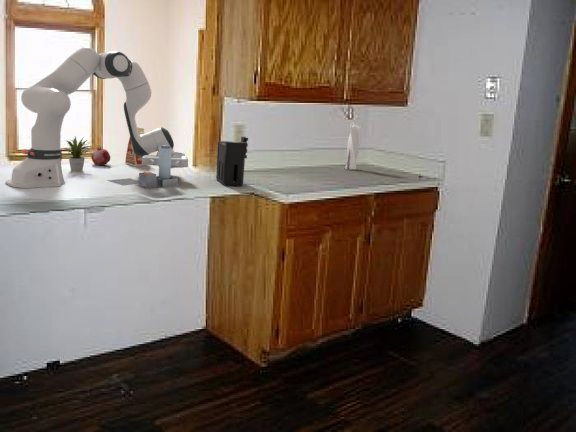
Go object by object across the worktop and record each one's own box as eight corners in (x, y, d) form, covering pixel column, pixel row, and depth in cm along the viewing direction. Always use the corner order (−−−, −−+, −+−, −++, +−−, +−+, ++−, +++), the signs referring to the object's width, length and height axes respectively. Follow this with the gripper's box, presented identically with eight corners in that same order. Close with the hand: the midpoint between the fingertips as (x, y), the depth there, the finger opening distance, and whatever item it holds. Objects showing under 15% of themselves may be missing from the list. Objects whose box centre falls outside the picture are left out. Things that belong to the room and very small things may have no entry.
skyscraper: (341, 167, 360) (346, 121, 354) (353, 168, 363) (358, 122, 356) (346, 170, 352) (352, 122, 346) (359, 170, 355) (364, 123, 348)
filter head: (148, 191, 246) (149, 175, 245) (134, 187, 252) (134, 171, 251) (178, 187, 258) (179, 173, 257) (164, 183, 264) (164, 169, 263)
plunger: (146, 178, 248) (146, 173, 248) (142, 176, 250) (142, 172, 250) (152, 177, 251) (153, 172, 250) (148, 176, 253) (148, 171, 252)
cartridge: (163, 185, 255) (164, 146, 251) (156, 183, 258) (157, 145, 254) (172, 184, 258) (173, 146, 255) (165, 182, 262) (166, 144, 258)
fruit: (109, 163, 304) (109, 144, 302) (111, 166, 296) (111, 147, 294) (90, 163, 301) (90, 143, 299) (91, 166, 292) (92, 146, 290)
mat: (122, 187, 249) (122, 185, 249) (106, 182, 256) (106, 180, 256) (146, 185, 258) (146, 182, 258) (129, 180, 266) (129, 178, 265)
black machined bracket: (224, 186, 270) (227, 138, 265) (213, 178, 288) (216, 133, 283) (249, 187, 274) (252, 139, 269) (236, 178, 293) (239, 134, 288)
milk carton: (135, 166, 304) (136, 127, 300) (124, 163, 309) (125, 124, 305) (149, 164, 311) (150, 126, 307) (138, 162, 317) (139, 124, 312)
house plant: (82, 175, 269) (82, 139, 265) (54, 171, 271) (54, 136, 267) (97, 170, 282) (97, 136, 279) (70, 167, 284) (70, 133, 281)
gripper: (142, 150, 268) (140, 155, 254) (188, 153, 271) (188, 158, 258) (142, 164, 269) (139, 169, 256) (187, 167, 273) (187, 172, 260)
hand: (164, 163), depth 257 cm, fingers open, 8 cm apart
